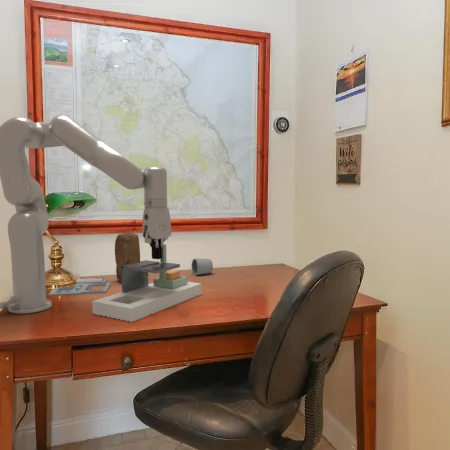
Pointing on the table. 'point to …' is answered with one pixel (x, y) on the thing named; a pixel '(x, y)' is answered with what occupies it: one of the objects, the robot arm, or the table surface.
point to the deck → (144, 301)
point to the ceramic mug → (201, 266)
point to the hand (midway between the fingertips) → (156, 258)
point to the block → (126, 251)
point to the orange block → (172, 275)
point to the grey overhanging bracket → (141, 273)
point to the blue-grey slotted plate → (82, 287)
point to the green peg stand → (163, 281)
